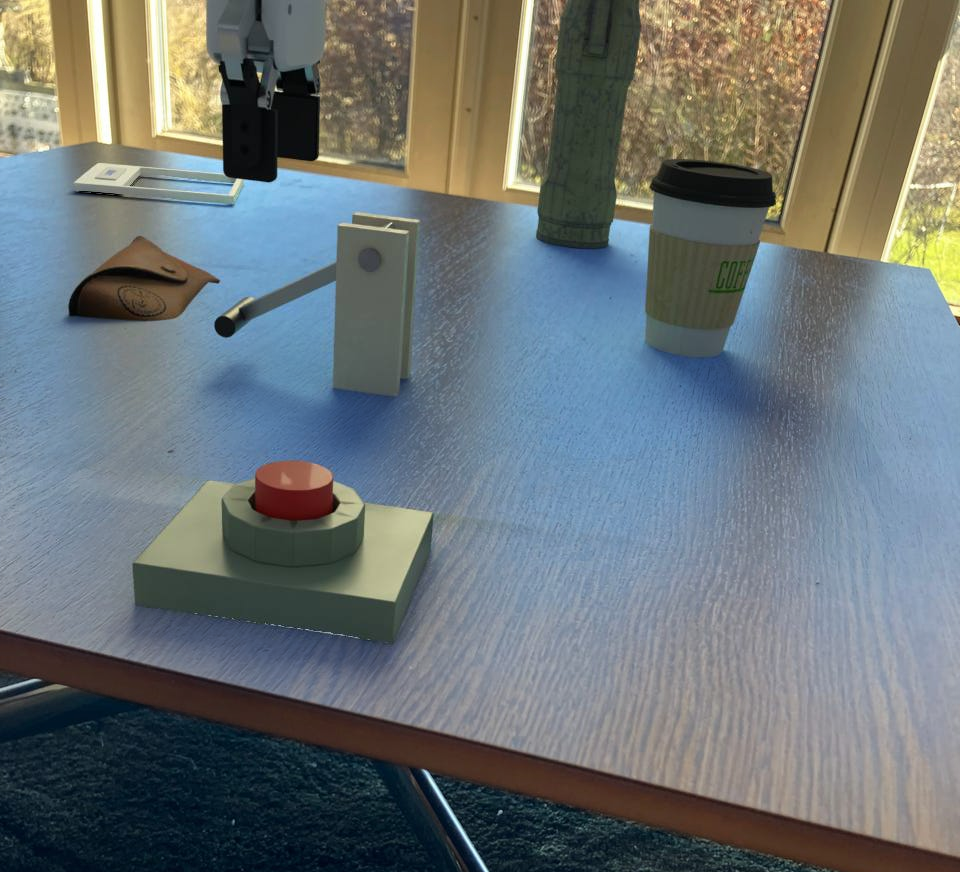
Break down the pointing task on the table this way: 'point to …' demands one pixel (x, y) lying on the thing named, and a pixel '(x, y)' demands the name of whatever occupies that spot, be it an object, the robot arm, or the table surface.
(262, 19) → the robot arm
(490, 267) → the table surface
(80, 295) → the sunglasses case
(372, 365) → the bracket
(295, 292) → the lever
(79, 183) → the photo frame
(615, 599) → the table surface
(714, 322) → the coffee cup
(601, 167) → the thermos
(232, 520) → the control block
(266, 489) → the button
